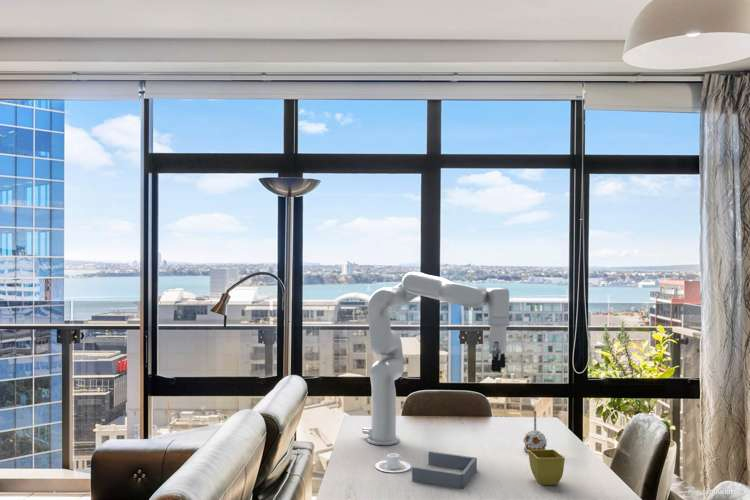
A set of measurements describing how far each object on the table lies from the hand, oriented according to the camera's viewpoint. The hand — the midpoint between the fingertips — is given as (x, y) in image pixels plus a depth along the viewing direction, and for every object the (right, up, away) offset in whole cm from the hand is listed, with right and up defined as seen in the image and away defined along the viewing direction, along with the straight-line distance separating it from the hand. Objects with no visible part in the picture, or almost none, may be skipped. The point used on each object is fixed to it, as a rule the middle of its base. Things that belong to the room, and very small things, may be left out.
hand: (498, 369), depth 201 cm
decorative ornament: (+15, -32, +4) cm, 35 cm away
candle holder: (-39, -31, -13) cm, 51 cm away
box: (-22, -30, -20) cm, 42 cm away
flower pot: (+9, -30, -26) cm, 41 cm away
